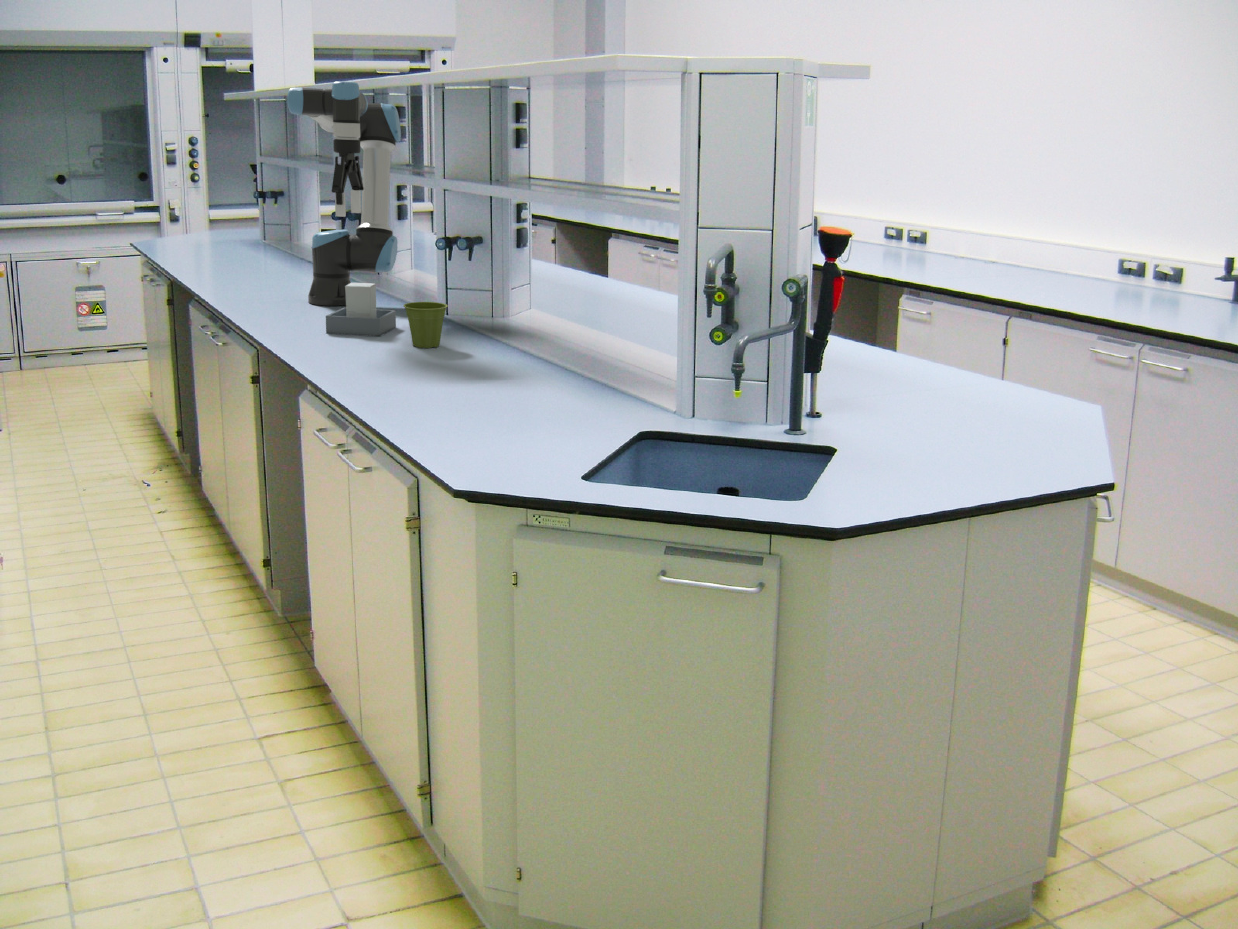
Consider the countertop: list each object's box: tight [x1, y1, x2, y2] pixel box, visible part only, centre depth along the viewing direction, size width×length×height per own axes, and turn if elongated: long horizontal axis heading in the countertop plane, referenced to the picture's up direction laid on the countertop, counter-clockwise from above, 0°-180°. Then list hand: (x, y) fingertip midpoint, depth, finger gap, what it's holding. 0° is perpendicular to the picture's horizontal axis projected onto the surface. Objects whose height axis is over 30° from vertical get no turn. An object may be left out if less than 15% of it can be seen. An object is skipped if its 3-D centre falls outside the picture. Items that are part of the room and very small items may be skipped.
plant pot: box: [402, 301, 449, 349], centre depth 319 cm, size 12×12×11 cm
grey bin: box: [325, 307, 397, 337], centre depth 338 cm, size 16×16×5 cm
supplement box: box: [345, 282, 377, 318], centre depth 337 cm, size 7×7×13 cm
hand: (348, 214), depth 340 cm, fingers open, 13 cm apart
